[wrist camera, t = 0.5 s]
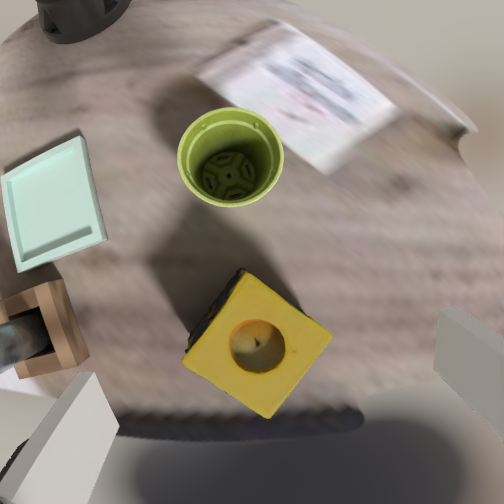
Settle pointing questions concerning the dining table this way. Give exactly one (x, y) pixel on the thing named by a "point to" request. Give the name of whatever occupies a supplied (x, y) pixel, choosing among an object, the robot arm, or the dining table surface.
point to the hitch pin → (22, 339)
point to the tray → (52, 206)
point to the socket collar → (48, 328)
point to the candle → (254, 344)
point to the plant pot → (230, 156)
